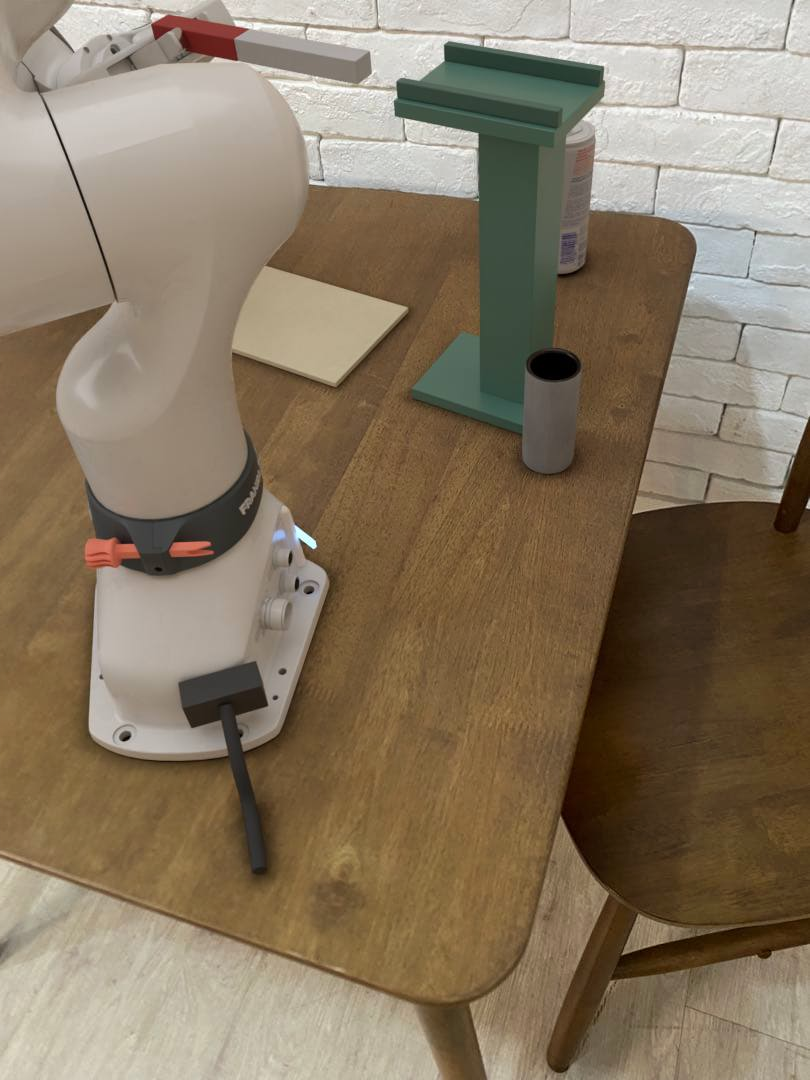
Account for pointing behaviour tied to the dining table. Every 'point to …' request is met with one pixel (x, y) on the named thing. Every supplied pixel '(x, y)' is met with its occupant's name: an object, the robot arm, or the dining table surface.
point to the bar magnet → (269, 49)
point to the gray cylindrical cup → (550, 409)
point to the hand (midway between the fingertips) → (194, 30)
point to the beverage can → (576, 196)
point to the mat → (311, 326)
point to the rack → (505, 211)
